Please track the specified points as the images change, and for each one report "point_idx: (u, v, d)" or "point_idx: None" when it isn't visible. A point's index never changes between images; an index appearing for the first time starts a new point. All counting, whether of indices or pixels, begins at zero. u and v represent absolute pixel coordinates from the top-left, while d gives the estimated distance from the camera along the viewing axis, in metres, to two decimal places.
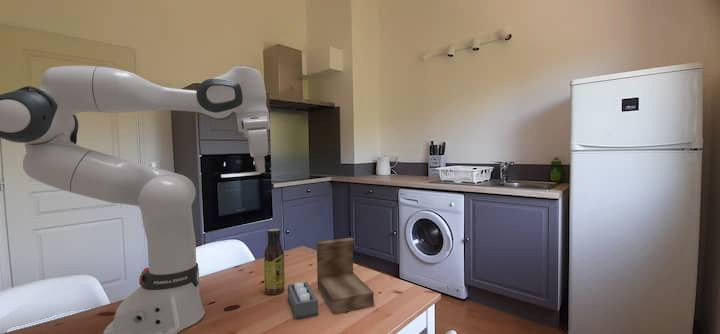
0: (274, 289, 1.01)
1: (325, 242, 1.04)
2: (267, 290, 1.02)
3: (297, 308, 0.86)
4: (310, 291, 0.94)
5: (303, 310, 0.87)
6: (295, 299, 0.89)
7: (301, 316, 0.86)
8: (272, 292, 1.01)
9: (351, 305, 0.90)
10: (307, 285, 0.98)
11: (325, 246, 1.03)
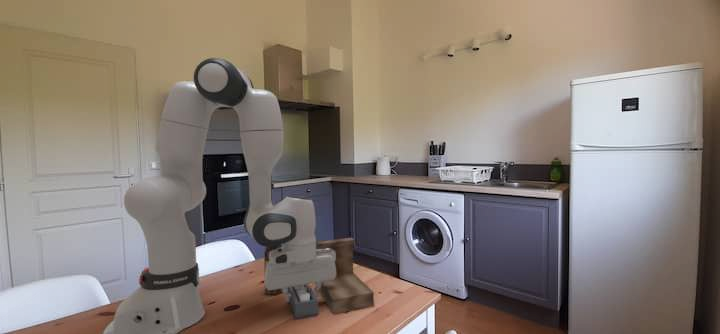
0: None
1: (325, 242, 1.04)
2: (267, 290, 1.02)
3: (297, 308, 0.86)
4: (310, 291, 0.94)
5: (303, 310, 0.87)
6: (295, 299, 0.89)
7: (302, 316, 0.86)
8: (272, 292, 1.01)
9: (351, 305, 0.90)
10: (307, 285, 0.98)
11: (325, 246, 1.03)
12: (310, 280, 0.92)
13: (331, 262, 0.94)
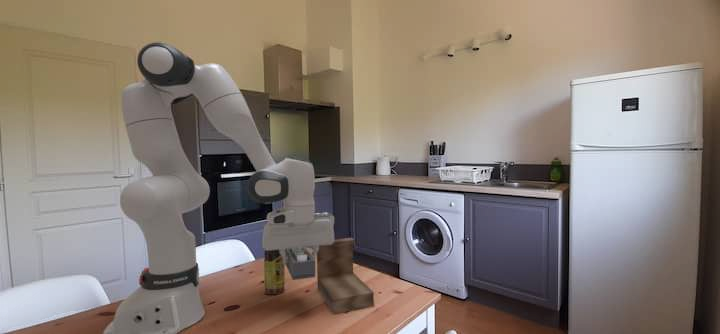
0: (274, 289, 1.01)
1: None
2: (267, 290, 1.02)
3: (294, 267, 0.85)
4: (308, 254, 0.93)
5: (300, 269, 0.86)
6: (292, 259, 0.88)
7: (298, 275, 0.86)
8: (272, 292, 1.01)
9: (351, 305, 0.90)
10: (305, 249, 0.97)
11: (325, 246, 1.03)
12: (308, 243, 0.92)
13: (330, 226, 0.94)
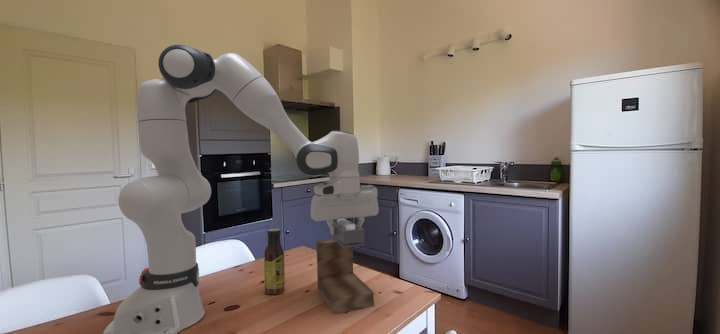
0: (274, 289, 1.01)
1: (325, 242, 1.04)
2: (267, 290, 1.02)
3: (345, 235, 0.88)
4: None
5: (350, 238, 0.89)
6: (341, 229, 0.91)
7: (349, 243, 0.88)
8: (272, 292, 1.01)
9: (351, 305, 0.90)
10: (349, 221, 1.00)
11: (325, 246, 1.03)
12: (354, 214, 0.94)
13: (374, 197, 0.97)
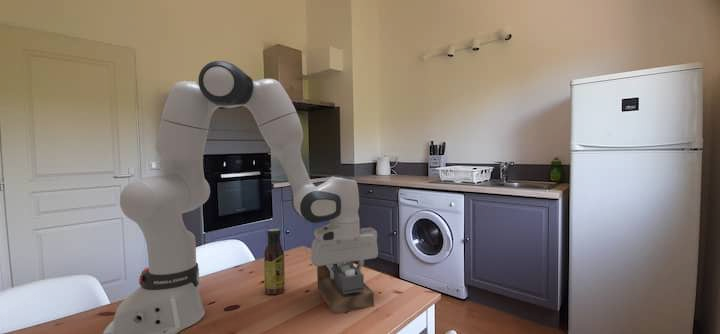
0: (274, 289, 1.01)
1: None
2: (267, 290, 1.02)
3: (344, 282, 0.89)
4: (353, 267, 0.97)
5: (350, 284, 0.90)
6: (341, 274, 0.92)
7: (348, 289, 0.90)
8: (272, 292, 1.01)
9: (351, 305, 0.90)
10: (349, 263, 1.01)
11: None
12: (354, 257, 0.96)
13: (374, 241, 0.98)
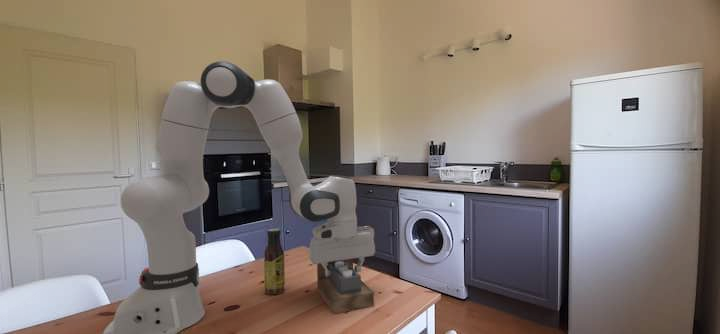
0: (274, 289, 1.01)
1: None
2: (267, 290, 1.02)
3: (342, 283, 0.91)
4: (351, 269, 0.99)
5: (347, 285, 0.92)
6: (339, 275, 0.94)
7: (346, 290, 0.92)
8: (272, 292, 1.01)
9: (351, 305, 0.90)
10: (346, 264, 1.03)
11: None
12: (351, 255, 0.98)
13: (371, 239, 1.00)
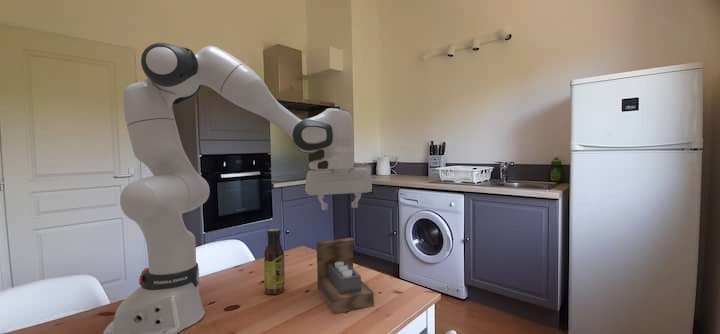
0: (274, 289, 1.01)
1: (325, 242, 1.04)
2: (267, 290, 1.02)
3: (342, 283, 0.91)
4: (351, 269, 0.99)
5: (347, 285, 0.92)
6: (339, 275, 0.94)
7: (346, 290, 0.92)
8: (272, 292, 1.01)
9: (351, 305, 0.90)
10: (346, 264, 1.03)
11: (325, 246, 1.03)
12: (348, 189, 0.97)
13: (368, 174, 0.99)
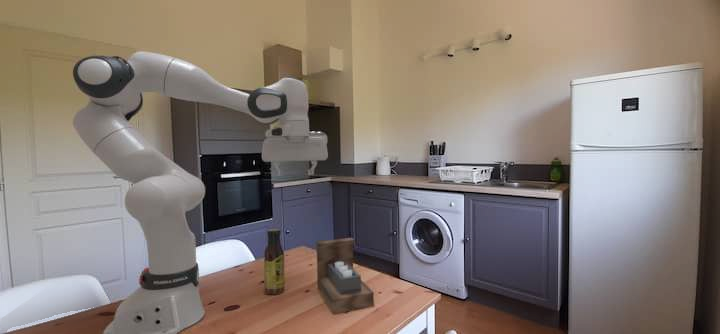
0: (274, 289, 1.01)
1: (325, 242, 1.04)
2: (267, 290, 1.02)
3: (342, 283, 0.91)
4: (351, 269, 0.99)
5: (347, 285, 0.92)
6: (339, 275, 0.94)
7: (346, 290, 0.92)
8: (272, 292, 1.01)
9: (351, 305, 0.90)
10: (346, 264, 1.03)
11: (325, 246, 1.03)
12: (303, 157, 1.01)
13: (323, 143, 1.03)
